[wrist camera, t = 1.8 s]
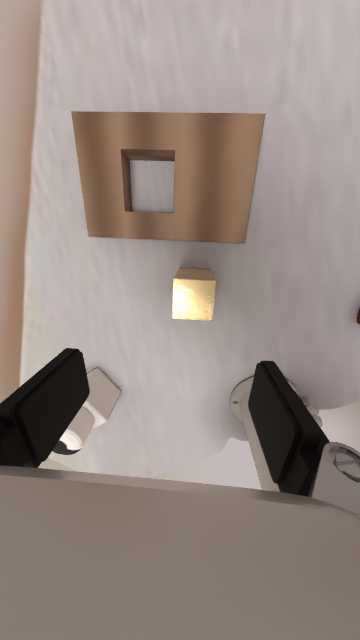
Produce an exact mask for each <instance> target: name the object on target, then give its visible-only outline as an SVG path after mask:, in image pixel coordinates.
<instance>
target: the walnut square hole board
mask: <svg viewBox="0 0 360 640" xmlns="http://www.w3.org/2000/svg"><path fill="white" fill-rule="evenodd" d="M71 113H72V120H73V127H74V134H75V142H76V149H77V156H78V163H79V171H80V178H81V185H82V193H83V200H84V207H85V214H86V222H87V229H88V236H89V237H108V238H131V239H155V240H179V241H202V242H226V243H245V238H246V232H247V225H248V219H249V213H250V207H251V201H252V194H253V188H254V182H255V176H256V169H257V163H258V157H259V151H260V144H261V138H262V132H263V126H264V119H265V114H245V113H158V112H72V111H71ZM129 160H154V161H175V172H174V213H153V212H132V203H131V184H130V165H129Z"/></svg>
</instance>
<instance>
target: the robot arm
mask: <svg viewBox="0 0 360 640" xmlns="http://www.w3.org/2000/svg"><path fill="white" fill-rule="evenodd" d="M89 394H90V388H89V383H88V378H87V373H86V368H85V363H84V358H83V354H82V352H80V351H79V349H71V348H66V349H65V350H63V351H62V352H61V353H60V354H59V355H57V356H56V357H55V358H54V359H53V360H51V361H50V362H49V363H48V364H47V365H46V366H44V367H43V368H42V369H41V370H40V371H38V372H37V373H36V374H35V375H34V376H33V377H31V378H30V379H29V380H28V381H27V382H25V383H24V384H23V385H22V386H21V387H19V388H18V389H17V390H16V391H15V392H14V393H12V394H11V395H10V396H9V397H8V398H6V399H5V400H4V401H3V402H2V403H1V404H0V640H360V453H359V452H358V451H356V450H354V449H353V448H351V447H349V446H347V445H345V444H342V443H338V442H330V441H329V440H328V438H327V437H326V435H325V434H324V432H323V431H322V430H321V428H320V427H321V426H322V421H321V418H320V417H319V416H316V415H318V413H319V411H318V408H317V407H314V406H305V405H304V403H303V402H302V400H301V399H300V397H299V394H298V391H297V390H296V388H295V387H294V385H293V384H292V383H291V382H289V381H288V380H287V379H286V378H285V377H284V375H283V374H282V372H281V371H280V369H279V368H278V366H277V365H276V364H275V362H274V361H261V362H260V363H258V364H257V366H256V370H255V374H254V377H251V378H249V379H246V380H245V381H243V382H241V383H240V384H239V385H238V386H237V387H236V388H235V389H234V391H233V393H232V395H231V398H230V405H231V410H232V412H233V414H234V416H235V417H236V418H237V419H238V420H239V421H240V422H242V423H244V426H245V430H246V433H247V437H248V441H249V444H250V448H251V451H252V455H253V459H254V462H255V466H256V469H257V473H258V477H259V480H260V484H261V487H262V490H257V489H249V488H241V487H231V486H222V485H221V486H220V485H212V484H202V483H192V482H182V481H172V480H161V479H151V478H140V477H130V476H119V475H108V474H97V473H86V472H75V471H63V470H52V469H41V468H38V466H39V465H40V464H41V462H43V461H45V460H46V459H47V458H48V456H49V455H50V453H51V452H52V450H53V449H54V447H55V446H56V444H57V443H58V441H59V440H60V438H61V437H62V435H63V434H64V432H65V431H66V429H67V428H68V426H69V425H70V423H71V422H72V420H73V419H74V417H75V416H76V414H77V413H78V411H79V410H80V409H81V407H82V406H83V404H84V403H85V401H86V400H87V398H88V396H89Z"/></svg>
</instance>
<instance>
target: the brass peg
mask: <svg viewBox="0 0 360 640" xmlns="http://www.w3.org/2000/svg"><path fill="white" fill-rule="evenodd" d="M215 290H216V279H215V278H214V276H213V274H212V273H211V271H210V269H194V268H179V269H178V271H177V273H176V275H175V277H174V280H173V318H177V319H193V320H209V321H212V316H213V307H214V298H215Z"/></svg>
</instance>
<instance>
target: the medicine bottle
mask: <svg viewBox="0 0 360 640" xmlns="http://www.w3.org/2000/svg"><path fill="white" fill-rule="evenodd" d="M87 378H88V383H89V388H90V394H89V396H88V398H87V400H86V401H85V403H84V404H83V406H82V407H81V409H80V410H79V411H78V413H77V414H76V416H75V417H74V419H73V420H72V422H71V423H70V425H69V426H68V428H67V429H66V431H65V432H64V434H63V435H62V437H61V438H60V440H59V441H58V443H57V444H56V446H55V447H54V449H53V450H52V451H53V452H55V453H58V454H63V455H71V454H74V453H76V452H78V451H79V450H80V449H81V448H82V446H83V444H84V442H85V440H86V439H87V437H88V435H89V433H90V431H91V429H93V428H95V427H97V426H99V425H101V424H103V423H105V422H107V420H108V418H109V416H110V414H111V412H112V410H113V408H114V406H115V404H116V402H117V400H118V397H119V395H120V393H121V391H120V390H119V389H118V388H117V387H116V386H115V385H114V384H113V383H112V382H111V381H110V380H109V379H108V378H107V376H106V375H105V374H104V373H103V372H102V371H101V370H100V369H99V368H96V369H95V370H93V371H91V372H90V373H88V374H87Z"/></svg>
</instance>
